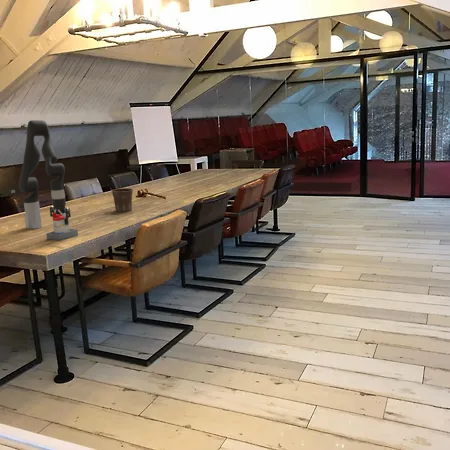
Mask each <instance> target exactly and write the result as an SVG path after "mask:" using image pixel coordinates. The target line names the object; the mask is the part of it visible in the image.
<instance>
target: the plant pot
mask: <svg viewBox="0 0 450 450" xmlns="http://www.w3.org/2000/svg"><path fill="white" fill-rule="evenodd" d="M133 190H134V188H127V187H126V188H125V187H124V188H123V187H121V188H115V189H112V190H111V193H112V197H113V203H114V208H115V212H120V213H124V212H125V213H126V212H129V211H132V210H133V207H132V205H133V192H134V191H133Z"/></svg>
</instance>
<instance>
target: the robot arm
mask: <svg viewBox="0 0 450 450" xmlns="http://www.w3.org/2000/svg"><path fill="white" fill-rule="evenodd" d="M35 137H43V139H44V140H43V144H42V146H41V152H40V150H39V148H38V146H37V144H36V143H35ZM25 143H26V144H25V149H24V155H23V163H22V167H21V168H22V169H21V173H20V177H19V181H18V188H19V191H20V192H22V193H29V194H28V195H27V196H25V197H24V198H23V206H24V223H25V228H26V229H27V230H29V229H32V230H34V229H35V230H36V229H40V228H42V217H41V216H42V215H41V209H40V194H39V192H40V191H39V184H38V183H39V181H38V180H37V178H36V177H35V176H32V177H31V175H32V173H33V172H34V171H35V170H36V169H37V167H38V166H39V164H40V160H41V154H42V156H43V159H44V163H45V172H46V175H47V176H49V177H56V176H57V177H56V179H52V180H51V181H50V190H51V191H50V192H51V194H50V195H51V204H52V206H50V207H49V217H51V218H53V213H56V215H62V216H63V217H64V223H65V225H68V218H71V209H70V207H66V203H67V202H66V193H65V189H64V179H65V178H64V177H65V173H66V172H65V171H66V167H65V165H64V164H63V163H62V162H59V163H56V162H57V161H58V156H57V154H56V151H55V149H54V146H53V142H52V137H51V133H50V129H49V125H48V123H47V121H46V120H37V119H35V120H32V119H31V120H29V121H28V122H27V129H26V141H25ZM65 216H66V217H65Z"/></svg>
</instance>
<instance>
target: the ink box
mask: <svg viewBox="0 0 450 450" xmlns="http://www.w3.org/2000/svg"><path fill="white" fill-rule="evenodd" d="M52 214H53V217H52V224H53V231H54V234H62V233H66V232H69V231H70V229H71V228H70V220H69V218H68V225H65V223H64V217H63V216H62V215H59V214H58V215H56V213H52ZM65 217H66V216H65Z"/></svg>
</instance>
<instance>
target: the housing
mask: <svg viewBox="0 0 450 450" xmlns="http://www.w3.org/2000/svg"><path fill="white" fill-rule="evenodd" d="M77 236H79V231H78V229H77V228H70V231H69V232H66V233H62V234H54V230H53V231H50V232H46V240H50V241H51V240H52V241H59V242H60V241H64V240H67V239H70V238H74V237H77Z"/></svg>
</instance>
